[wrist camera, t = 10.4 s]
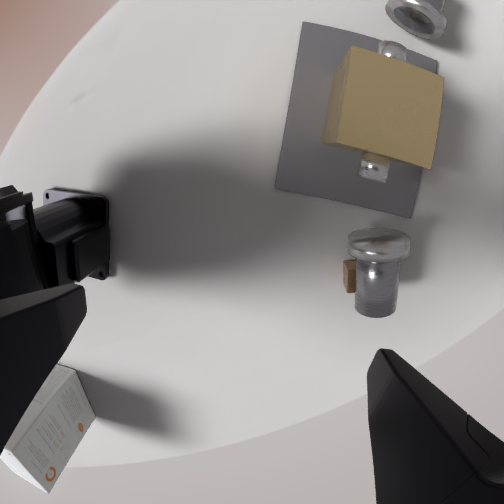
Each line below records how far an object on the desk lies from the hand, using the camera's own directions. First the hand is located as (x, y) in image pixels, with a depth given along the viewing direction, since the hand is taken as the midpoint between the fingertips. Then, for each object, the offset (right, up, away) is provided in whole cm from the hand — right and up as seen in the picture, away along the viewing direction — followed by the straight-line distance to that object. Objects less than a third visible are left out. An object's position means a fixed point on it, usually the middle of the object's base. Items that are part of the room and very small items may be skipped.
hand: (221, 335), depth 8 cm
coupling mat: (+7, +10, +8) cm, 15 cm away
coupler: (+7, +10, +8) cm, 15 cm away
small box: (-21, -14, +20) cm, 32 cm away
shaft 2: (+11, +18, +5) cm, 22 cm away
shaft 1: (+8, +2, +11) cm, 14 cm away
